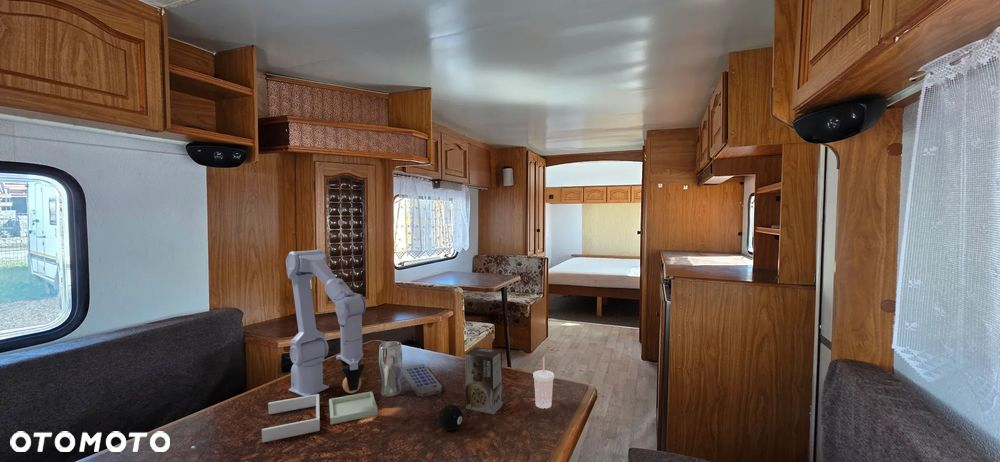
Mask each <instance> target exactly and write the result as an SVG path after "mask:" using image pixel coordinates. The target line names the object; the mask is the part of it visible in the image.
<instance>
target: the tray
mask: <svg viewBox="0 0 1000 462" xmlns="http://www.w3.org/2000/svg"><path fill="white" fill-rule="evenodd" d="M328 405H329V406H328V407H329V418H330V420H329V421H330V422H329V423H330V425H336V424H340V423H345V422H349V421H354V420H361V419H364V418H369V417H375V416H378V415H379V413H378V412H379V410H378V409H379V408H378V405H377V402H376V400H375V396H374V393H373V390H372V391H368V392H367V391H366V392H361V393H360V392H359V393H355V394H351V395H344V396H340V397H332V398H329V399H328Z"/></svg>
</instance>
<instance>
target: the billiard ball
mask: <svg viewBox="0 0 1000 462" xmlns="http://www.w3.org/2000/svg"><path fill="white" fill-rule="evenodd" d="M463 418H464V415H463V411H462V409H461V408H460V407H459V406H458V405H457V404H456V405H455V404H447V405H445V406H443V407H442V409H441V410H440V412H439V414H438V422H439V424H440V426H441V428H442V429H444V430H445V431H455V430H457V429H458V428H460V426H461V424H462V423H463V420H464V419H463Z"/></svg>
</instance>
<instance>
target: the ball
mask: <svg viewBox="0 0 1000 462" xmlns="http://www.w3.org/2000/svg"><path fill="white" fill-rule="evenodd" d="M361 385H362V379H361V377H360V379H359V385H358V389H357V390H354V391H349V388H348V383H347V379H346V376H345V378H344V379H343V381H342V388H343V391H345V393H349V394H353V393H356V392H358V391H359V390H360V388H361Z"/></svg>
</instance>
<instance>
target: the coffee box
mask: <svg viewBox="0 0 1000 462" xmlns="http://www.w3.org/2000/svg"><path fill="white" fill-rule="evenodd" d="M502 352H503V351H502V350H500V349H499V350H498V349H492V348H485V347H479V346H474V347H473V348H471V349H469V351H467V352H465V353H464V364H465V365H464V367H465V369H464V371H465V409H466V410H470V411H475V412H481V413H485V414H490V415H495V414H496V413H497V412H498V411H499V410H500V409H501V408H502V407H503V353H502Z"/></svg>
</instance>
